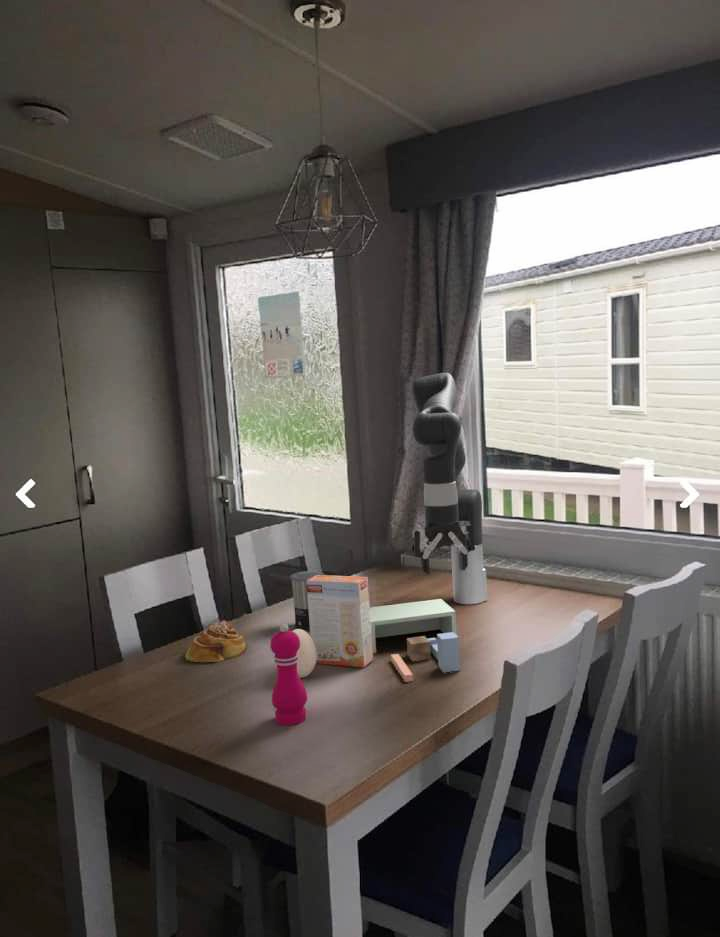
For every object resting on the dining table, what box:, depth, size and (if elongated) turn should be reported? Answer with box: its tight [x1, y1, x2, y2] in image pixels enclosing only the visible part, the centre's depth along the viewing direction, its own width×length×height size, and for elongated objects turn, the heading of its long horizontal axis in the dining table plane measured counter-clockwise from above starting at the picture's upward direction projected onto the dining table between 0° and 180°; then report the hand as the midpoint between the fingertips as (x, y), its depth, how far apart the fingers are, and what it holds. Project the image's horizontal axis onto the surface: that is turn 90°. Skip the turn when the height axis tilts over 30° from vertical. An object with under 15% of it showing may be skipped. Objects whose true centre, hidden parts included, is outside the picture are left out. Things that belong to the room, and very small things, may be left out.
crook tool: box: [427, 632, 461, 673], centre depth 190 cm, size 16×7×8 cm, turn 11°
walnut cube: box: [406, 635, 432, 662], centre depth 193 cm, size 4×4×4 cm
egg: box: [291, 628, 317, 679], centre depth 185 cm, size 8×8×11 cm
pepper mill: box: [270, 623, 308, 726], centre depth 162 cm, size 7×7×20 cm
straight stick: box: [390, 653, 414, 683], centre depth 185 cm, size 2×14×2 cm, turn 11°
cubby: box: [370, 598, 458, 654], centre depth 206 cm, size 22×12×8 cm, turn 102°
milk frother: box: [290, 570, 325, 632], centre depth 224 cm, size 14×16×15 cm
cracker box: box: [306, 574, 374, 668], centre depth 193 cm, size 14×6×21 cm, turn 65°
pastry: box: [184, 620, 248, 663], centre depth 205 cm, size 13×15×8 cm
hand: (444, 571), depth 182 cm, fingers open, 8 cm apart
